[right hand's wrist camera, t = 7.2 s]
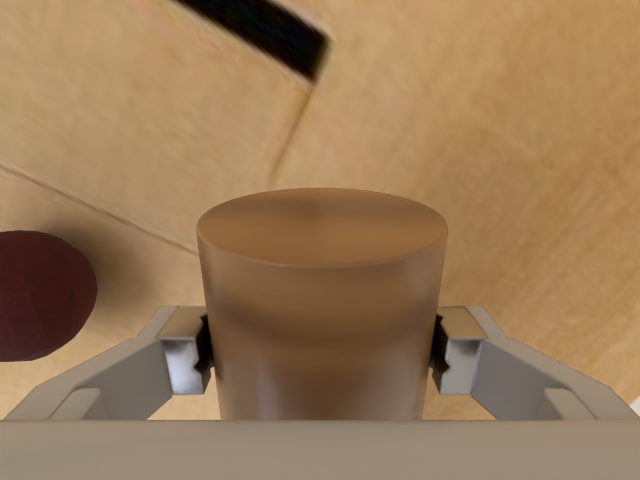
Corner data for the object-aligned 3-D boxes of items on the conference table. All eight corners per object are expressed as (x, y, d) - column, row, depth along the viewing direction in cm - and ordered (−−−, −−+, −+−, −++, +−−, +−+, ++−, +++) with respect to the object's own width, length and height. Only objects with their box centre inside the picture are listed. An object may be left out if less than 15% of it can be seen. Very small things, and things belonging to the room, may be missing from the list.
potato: (128, 314, 25) (60, 390, 18) (20, 316, 25) (-87, 392, 19) (103, 214, 22) (12, 262, 16) (-19, 217, 22) (-160, 265, 16)
